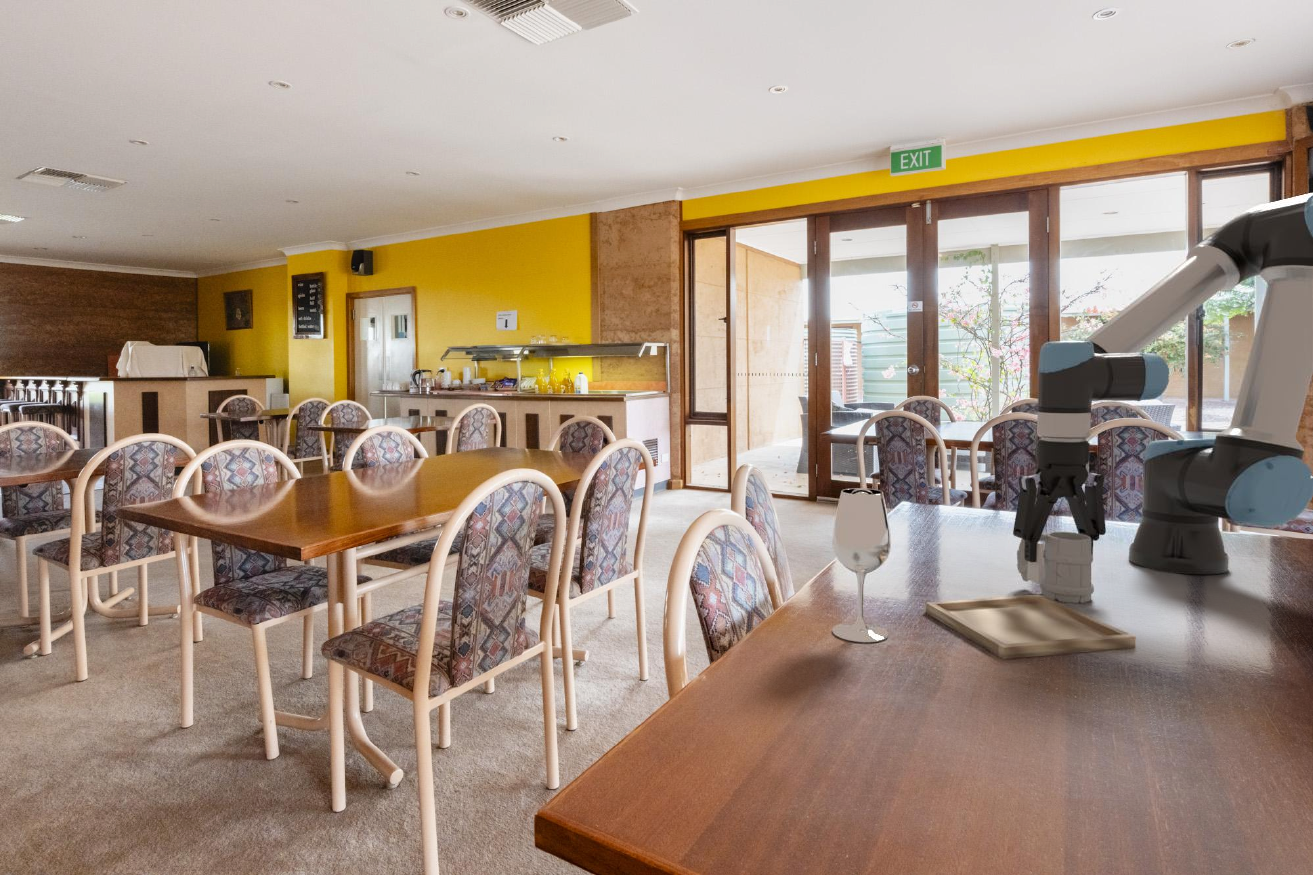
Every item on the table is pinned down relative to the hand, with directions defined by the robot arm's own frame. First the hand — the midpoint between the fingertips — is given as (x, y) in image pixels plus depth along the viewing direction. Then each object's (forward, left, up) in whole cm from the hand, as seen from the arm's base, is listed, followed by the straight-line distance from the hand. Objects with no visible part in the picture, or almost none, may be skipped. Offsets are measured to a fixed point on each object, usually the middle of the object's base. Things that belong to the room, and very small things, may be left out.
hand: (1057, 579), depth 125 cm
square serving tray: (+16, +14, -2) cm, 21 cm away
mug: (+1, 0, -2) cm, 3 cm away
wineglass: (+39, +11, -2) cm, 41 cm away
